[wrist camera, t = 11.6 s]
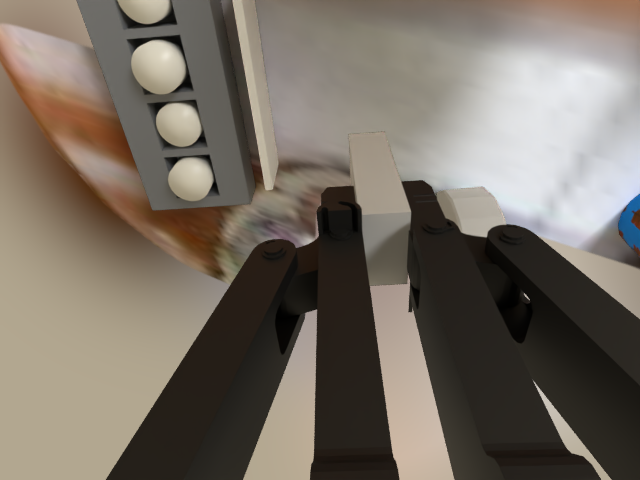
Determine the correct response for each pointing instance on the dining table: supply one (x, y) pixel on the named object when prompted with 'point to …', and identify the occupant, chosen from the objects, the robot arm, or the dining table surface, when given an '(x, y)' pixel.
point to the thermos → (631, 225)
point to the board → (176, 98)
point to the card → (257, 87)
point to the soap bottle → (471, 209)
